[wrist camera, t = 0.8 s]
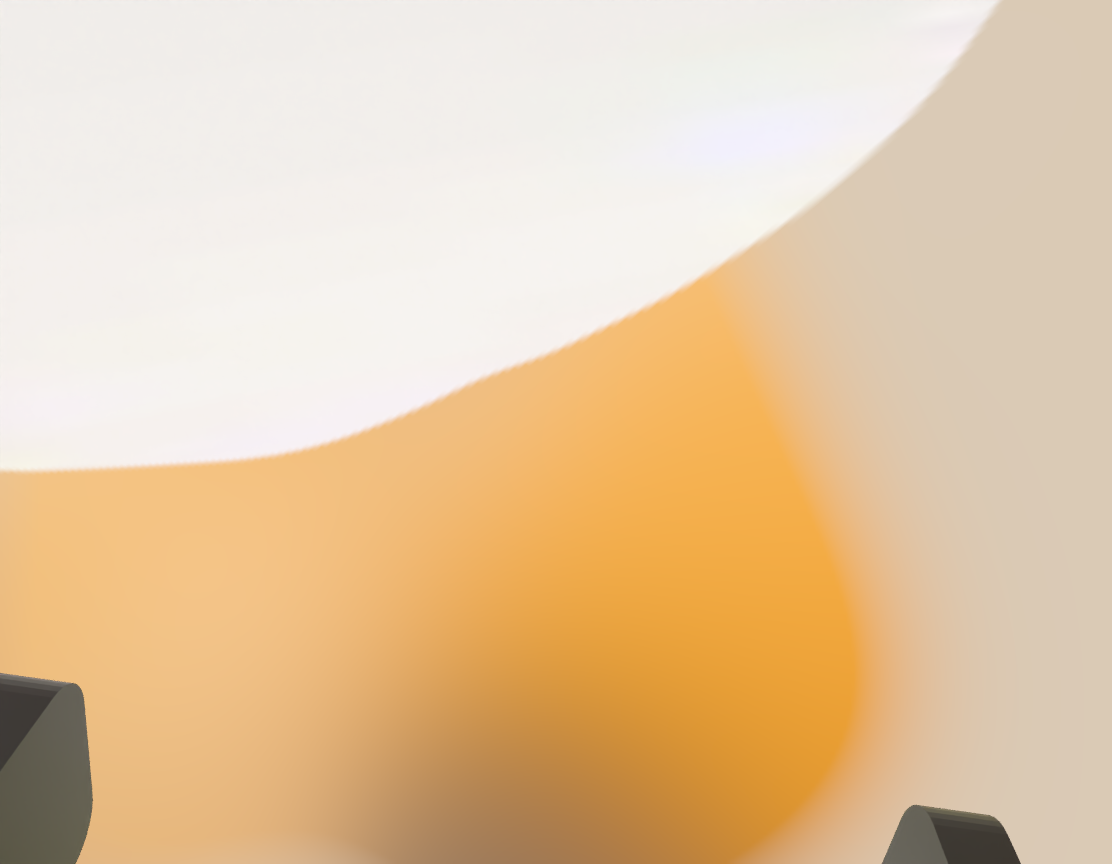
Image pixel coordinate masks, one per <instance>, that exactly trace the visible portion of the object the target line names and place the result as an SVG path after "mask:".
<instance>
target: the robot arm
mask: <svg viewBox="0 0 1112 864" xmlns="http://www.w3.org/2000/svg"><path fill="white" fill-rule="evenodd" d="M92 801H93V799H92V784H91V773H90V761H89V750H88V739H87V728H86V717H85V706H84V697H83V693H82V690H81V689H80V687H79V686H78V685H77V684H74V683H66V682H60V681H52V680H45V679H38V678H31V677H24V676H17V675H10V674H3V673H0V864H75V863H76V861H77V859H78V857H79V855H80V852H81V850H82V847H83V844H84V841H85V838H86V835H87V831H88V827H89V823H90V818H91V812H92ZM882 864H1021V863H1020V861H1019V859H1018V857H1017V854H1016V852H1015V850H1014V848H1013V846H1012V843H1011V841H1010V839H1009V837H1008V835H1007V833H1006V831H1005V829H1004V827H1003V826H1002V825H1001V823H1000V822H999V821H998V820H997V819H996V818H994V817H992V816H990V815H983V814H976V813H970V812H962V811H955V810H948V809H941V808H934V807H926V806H920V805H913V806H911V807H909V808H908V809H907V810H906V812H905V813H904V815H903V816H902V818H901V821H900V823H899V825H898V828H897V830H896V832H895V835H894V837H893V839H892V842H891V844H890V846H889V849H888V851H887V853H886V856H885V858H884V860H883V863H882Z"/></svg>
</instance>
